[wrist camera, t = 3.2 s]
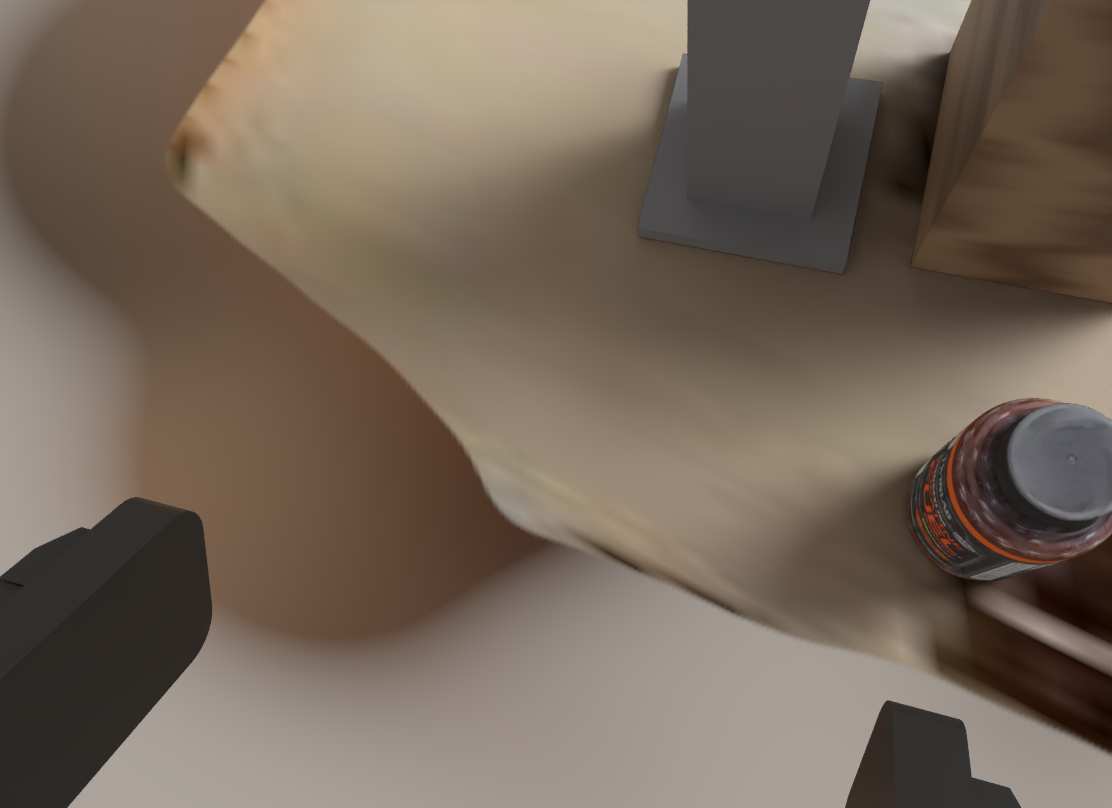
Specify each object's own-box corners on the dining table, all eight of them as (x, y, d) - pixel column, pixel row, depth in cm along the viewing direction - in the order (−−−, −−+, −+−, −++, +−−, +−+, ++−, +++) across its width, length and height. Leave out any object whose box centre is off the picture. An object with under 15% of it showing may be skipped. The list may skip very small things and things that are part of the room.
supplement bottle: (879, 476, 43) (943, 406, 32) (1005, 429, 43) (1112, 344, 32) (938, 604, 41) (1028, 575, 31) (1070, 556, 41) (1206, 510, 30)
